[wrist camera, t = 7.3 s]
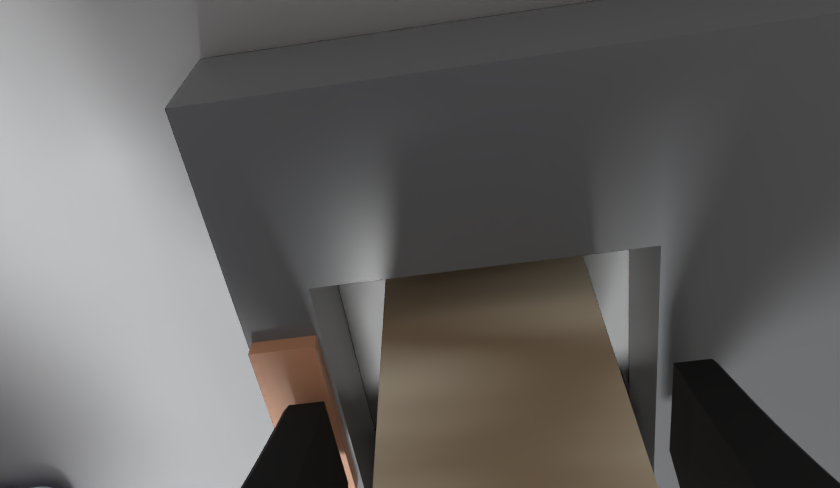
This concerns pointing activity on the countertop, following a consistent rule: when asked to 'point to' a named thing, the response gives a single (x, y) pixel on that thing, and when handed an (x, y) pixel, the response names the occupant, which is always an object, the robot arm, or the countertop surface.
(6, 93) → the countertop surface
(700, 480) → the robot arm
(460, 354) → the tan rectangular block
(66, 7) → the countertop surface
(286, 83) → the dock
